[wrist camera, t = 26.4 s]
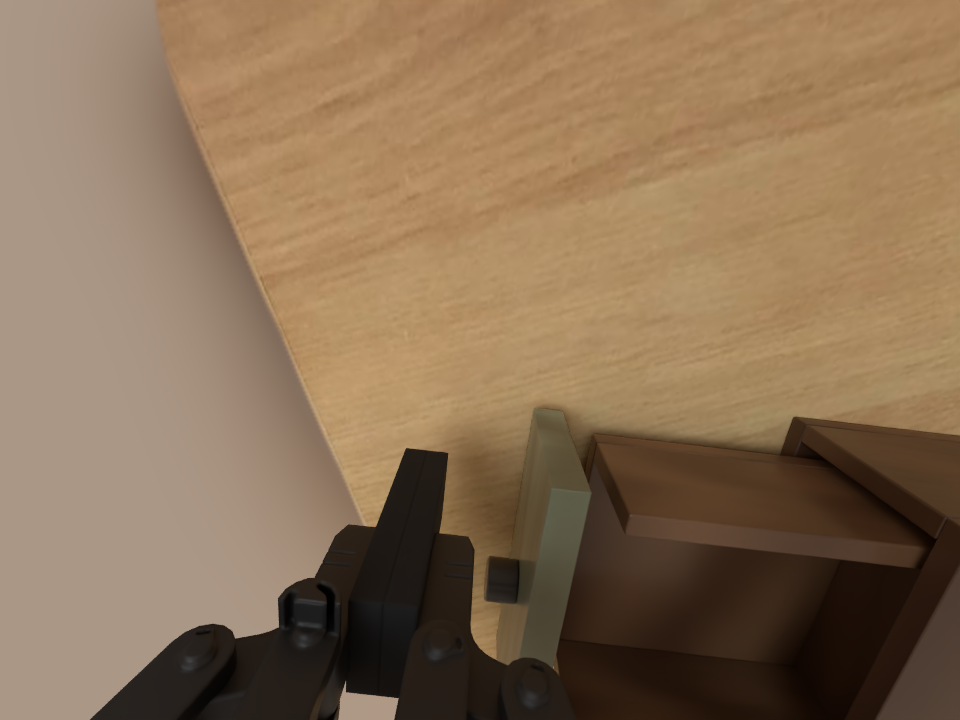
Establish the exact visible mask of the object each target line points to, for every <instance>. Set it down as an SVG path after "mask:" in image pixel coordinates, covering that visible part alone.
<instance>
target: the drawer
mask: <svg viewBox="0 0 960 720" xmlns="http://www.w3.org/2000/svg"><path fill="white" fill-rule="evenodd" d="M936 541H937V539H935V538H933V537H932V536H930V535H929V534H928V533H926V532H925V531H923V530H922V529H921V528H919V527H918V526H917V525H915V524H914V523H912V522H911V521H910V520H908V519H907V518H906V517H904V516H903V515H901V514H900V513H899V512H897V511H896V510H895V509H893V508H892V507H890V506H889V505H888V504H886V503H885V502H884V501H882V500H881V499H879V498H878V497H877V496H875V495H874V494H873V493H871V492H870V491H868V490H867V489H866V488H864V487H863V486H862V485H860V484H859V483H857V482H856V481H855V480H853V479H852V478H851V477H849V476H848V475H846V474H845V473H844V472H842V471H841V470H839V469H838V468H837V467H835V466H834V465H833V464H831V463H830V462H828V461H824V460H816V459H807V458H799V457H790V456H781V455H773V454H764V453H756V452H747V451H739V450H730V449H721V448H713V447H704V446H696V445H687V444H678V443H670V442H661V441H653V440H644V439H636V438H627V437H618V436H610V435H601V434H593V435H592V440H591V445H590V449H589V454H588V459H587V463H586V468H585V473H584V470H583V468H582V465H581V462H580V459H579V456H578V454H577V451H576V448H575V445H574V442H573V440H572V437H571V434H570V431H569V428H568V426H567V423H566V420H565V417H564V414H563V412H562V411H559V410H550V409H542V408H534V410H533V416H532V422H531V429H530V435H529V441H528V447H527V453H526V459H525V465H524V471H523V477H522V484H521V490H520V496H519V502H518V508H517V514H516V520H515V526H514V532H513V538H512V545H511V551H510V557H509V558H503V557H494V556H489V557H488V559H487V564H486V571H485V582H484V599H485V601H488V602H497V603H502V606H501V612H500V618H499V624H498V630H497V661H499V662H502V663H504V664H506V665H509V664H510V663H511V662H512V661H514V660H517V659H520V658H523V657H526V658H536V659H538V660H540V661H543V662H545V663H547V664H548V665H549V666H550V667H551V668H553V666H554V670H555V671H556V672H557V674H558V675H559V677H560V679H561V681H562V682H563V684H564V687H565V689H566V692H567V695H568V697H569V700H570V703H571V705H572V708H573V711H574V713H575V716H576V718H577V720H844V719H845V717H846V716H847V714H848V712H849V710H850V708H851V706H852V704H853V702H854V700H855V698H856V696H857V694H858V692H859V690H860V688H861V686H862V684H863V683H864V681H865V679H866V677H867V675H868V673H869V671H870V669H871V667H872V665H873V663H874V661H875V659H876V657H877V655H878V653H879V651H880V649H881V648H882V646H883V644H884V642H885V640H886V638H887V636H888V634H889V632H890V630H891V628H892V626H893V624H894V622H895V620H896V618H897V616H898V614H899V613H900V611H901V609H902V607H903V605H904V603H905V601H906V599H907V597H908V595H909V593H910V591H911V589H912V587H913V585H914V583H915V581H916V580H917V578H918V576H919V574H920V572H921V570H922V568H923V566H924V564H925V562H926V560H927V558H928V556H929V554H930V552H931V550H932V548H933V546H934V545H935V543H936Z"/></svg>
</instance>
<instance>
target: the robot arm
mask: <svg viewBox="0 0 960 720" xmlns="http://www.w3.org/2000/svg"><path fill="white" fill-rule="evenodd" d="M447 461H448V453H444V452H435V451H426V450H418V449H409V448H406V450H405V452H404V455H403V458H402V460H401V463H400V466H399V468H398V471H397V474H396V476H395V479H394V481H393V484H392V487H391V489H390V492H389V495H388V497H387V500H386V502H385V505H384V508H383V510H382V513H381V516H380V518H379V521H378V524H377V526H376V527H367V526H358V525H347V526H346V527H345V528H344V529H343V530H341V531H340V532H339V533H338V534H337V535H336V536H335V538H334V540H333V542H332V544H331V546H330V548H329V551H328V552H327V554H326V556H325V558H324V560H323V563H322V564H321V566H320V568H319V570H318V572H317V574H316V576H315V578H307V579H304V580H302V581H298V582H296V583H294V584H293V585H291V586H290V587H288V588H286V589H285V591H284V592H283V593H282V594H281V595H280V597H279V598H278V609H279V628H276V629H274V630H272V631H270V632H266V633H263V634H259V635H253V636H248V637H242V638H237V639H235V637H234V635H233V632H232V631H231V630H230V629H228V628H227V627H225V626H223V625H217V624H209V625H203V626H198V627H196V628H194V629H191V630H189V631H187V632H185V633H183V634H182V635H181V636H179V637H178V638H177V639H175V640H174V641H173V642H171V643H170V644H169V645H168V646H167V647H166V648H165V649H164V650H163V651H162V652H161V653H160V654H159V655H158V656H157V657H156V658H154V659H153V660H152V661H151V662H150V663H149V664H148V665H147V666H146V667H145V668H144V669H143V670H142V671H141V672H140V673H139V674H138V675H137V676H135V677H134V678H133V679H132V680H131V681H130V682H129V683H128V684H127V685H126V686H125V687H124V688H123V689H122V690H121V691H120V692H119V693H118V694H117V695H115V696H114V697H113V698H112V699H111V700H110V701H109V702H108V703H107V704H106V705H105V706H104V707H103V708H102V709H101V710H100V711H99V712H97V713H96V714H95V715H94V716H93V717H92V718H91V719H90V720H338V717H339V709H340V697H341V694H342V691H343V688H344V684H345V681H346V692H349V693H358V694H367V695H376V696H385V697H394V698H399V700H398V705H397V709H396V714H395V719H394V720H577V718H576V716H575V713H574V711H573V708H572V705H571V703H570V700H569V697H568V695H567V692H566V689H565V687H564V684H563V682H562V681H561V679H560V677H559V675H558V674H557V672H556V671H555V670H554V669H553V668H551V667H550V666H549V665H548V664H547V663H545V662H543V661H540V660H538V659H536V658H526V657H523V658H520V659H517V660H514V661H512V662H511V663H510V664H509V665H506V664H504V663H502V662H499V661H497V660H495V659H493V658H491V657H490V656H488V655H486V654H485V653H484V652H483V651H482V650H481V649H480V648H479V647H478V646H477V644H476V643H475V641H474V639H473V636H472V634H471V626H470V622H471V605H472V588H473V570H474V553H475V550H474V548H473V546H472V543H471V541H470V539H469V537H466V536H457V535H448V534H440V533H439V531H440V525H441V519H442V511H443V501H444V491H445V481H446V471H447Z"/></svg>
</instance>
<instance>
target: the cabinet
mask: <svg viewBox="0 0 960 720" xmlns="http://www.w3.org/2000/svg"><path fill="white" fill-rule="evenodd" d="M781 456H790V457H799V458H807V459H816V460H824V461H828V462H830V463H831V464H833V465H834V466H835V467H837V468H838V469H839V470H841V471H842V472H844V473H845V474H846V475H848V476H849V477H851V478H852V479H853V480H855V481H856V482H857V483H859V484H860V485H862V486H863V487H864V488H866V489H867V490H868V491H870V492H871V493H873V494H874V495H875V496H877V497H878V498H879V499H881V500H882V501H884V502H885V503H886V504H888V505H889V506H890V507H892V508H893V509H895V510H896V511H897V512H899V513H900V514H901V515H903V516H904V517H906V518H907V519H908V520H910V521H911V522H912V523H914V524H915V525H917V526H918V527H919V528H921V529H922V530H923V531H925V532H926V533H928V534H929V535H930V536H932V537H933V538H935V539H937V541H936V543H935V545H934V546H933V548H932V550H931V552H930V554H929V556H928V558H927V560H926V562H925V564H924V566H923V568H922V570H921V572H920V574H919V576H918V578H917V580H916V581H915V583H914V585H913V587H912V589H911V591H910V593H909V595H908V597H907V599H906V601H905V603H904V605H903V607H902V609H901V611H900V613H899V614H898V616H897V618H896V620H895V622H894V624H893V626H892V628H891V630H890V632H889V634H888V636H887V638H886V640H885V642H884V644H883V646H882V648H881V649H880V651H879V653H878V655H877V657H876V659H875V661H874V663H873V665H872V667H871V669H870V671H869V673H868V675H867V677H866V679H865V681H864V683H863V684H862V686H861V688H860V690H859V692H858V694H857V696H856V698H855V700H854V702H853V704H852V706H851V708H850V710H849V712H848V714H847V716H846V717H845V719H844V720H960V436H954V435H945V434H937V433H928V432H919V431H911V430H902V429H894V428H885V427H877V426H868V425H860V424H851V423H843V422H834V421H826V420H817V419H808V418H800V417H794V419H793V422H792V425H791V428H790V430H789V433H788V436H787V439H786V441H785V444H784V447H783V450H782V452H781Z"/></svg>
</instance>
